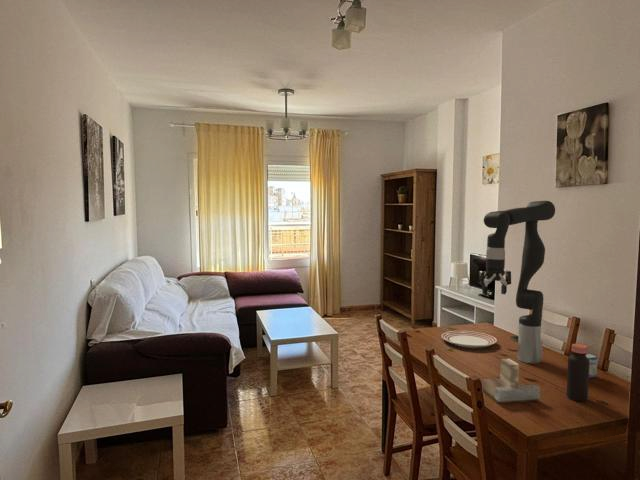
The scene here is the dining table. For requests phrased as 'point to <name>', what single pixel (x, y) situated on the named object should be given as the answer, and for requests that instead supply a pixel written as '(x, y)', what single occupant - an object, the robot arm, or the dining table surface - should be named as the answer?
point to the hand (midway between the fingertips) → (494, 294)
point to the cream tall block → (509, 373)
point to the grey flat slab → (490, 390)
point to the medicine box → (592, 365)
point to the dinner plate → (469, 339)
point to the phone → (514, 338)
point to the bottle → (578, 374)
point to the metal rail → (517, 393)
